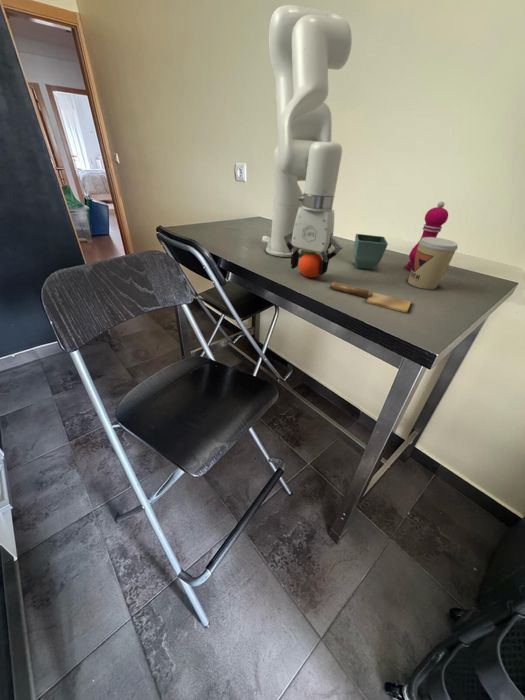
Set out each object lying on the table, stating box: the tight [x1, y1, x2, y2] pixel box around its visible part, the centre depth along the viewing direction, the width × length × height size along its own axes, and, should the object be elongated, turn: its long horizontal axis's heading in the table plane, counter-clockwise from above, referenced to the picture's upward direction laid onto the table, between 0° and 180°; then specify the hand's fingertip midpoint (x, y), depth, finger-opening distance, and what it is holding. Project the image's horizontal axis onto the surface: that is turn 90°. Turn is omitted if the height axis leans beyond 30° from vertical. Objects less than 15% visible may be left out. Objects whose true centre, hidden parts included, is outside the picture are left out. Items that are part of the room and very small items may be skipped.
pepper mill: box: [406, 200, 449, 272], centre depth 87 cm, size 7×7×20 cm
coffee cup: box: [407, 237, 459, 290], centre depth 79 cm, size 9×9×12 cm
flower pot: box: [353, 233, 389, 271], centre depth 90 cm, size 9×9×9 cm
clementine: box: [297, 251, 323, 278], centre depth 80 cm, size 8×7×7 cm
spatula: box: [329, 281, 412, 314], centre depth 72 cm, size 20×6×2 cm, turn 59°
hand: (307, 270), depth 81 cm, fingers closed on clementine, 8 cm apart
